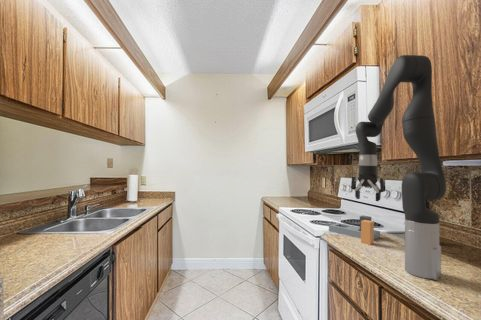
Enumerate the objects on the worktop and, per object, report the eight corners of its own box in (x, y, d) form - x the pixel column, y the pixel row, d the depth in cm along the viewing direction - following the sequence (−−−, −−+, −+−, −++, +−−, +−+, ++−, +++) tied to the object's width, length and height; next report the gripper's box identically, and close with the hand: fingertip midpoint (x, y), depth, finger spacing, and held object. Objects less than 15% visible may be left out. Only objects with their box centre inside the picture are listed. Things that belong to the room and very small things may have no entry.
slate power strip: (380, 237, 122) (380, 217, 122) (371, 240, 116) (371, 219, 116) (338, 228, 139) (338, 210, 139) (328, 230, 132) (329, 212, 133)
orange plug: (373, 243, 112) (373, 221, 112) (370, 245, 110) (370, 222, 110) (364, 241, 115) (364, 219, 116) (360, 242, 113) (361, 220, 113)
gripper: (348, 164, 116) (348, 198, 116) (381, 165, 105) (381, 202, 105) (356, 164, 121) (355, 197, 121) (387, 165, 110) (387, 201, 110)
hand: (367, 199), depth 113 cm, fingers open, 8 cm apart
